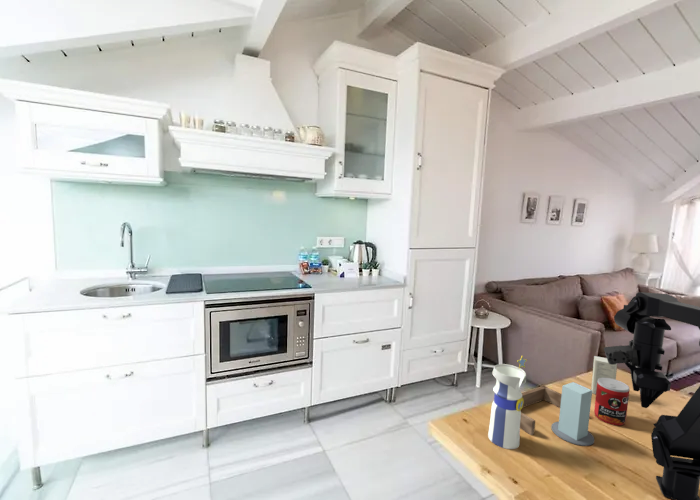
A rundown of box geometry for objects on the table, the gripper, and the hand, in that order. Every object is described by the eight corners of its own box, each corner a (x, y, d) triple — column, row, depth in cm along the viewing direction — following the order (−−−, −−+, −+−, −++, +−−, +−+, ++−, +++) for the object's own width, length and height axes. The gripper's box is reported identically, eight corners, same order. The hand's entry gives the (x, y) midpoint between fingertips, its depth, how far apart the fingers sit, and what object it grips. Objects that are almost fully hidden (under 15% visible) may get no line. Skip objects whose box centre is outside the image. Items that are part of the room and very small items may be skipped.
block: (587, 435, 94) (592, 390, 92) (576, 440, 91) (581, 394, 90) (568, 425, 98) (573, 381, 97) (558, 429, 96) (562, 385, 94)
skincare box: (612, 393, 118) (616, 359, 116) (614, 399, 114) (618, 364, 113) (590, 388, 121) (593, 355, 120) (591, 393, 117) (594, 359, 116)
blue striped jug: (527, 440, 91) (535, 350, 89) (513, 454, 86) (521, 358, 83) (496, 425, 97) (503, 340, 95) (481, 437, 92) (488, 348, 89)
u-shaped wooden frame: (578, 414, 104) (579, 402, 104) (531, 435, 94) (532, 421, 93) (542, 397, 114) (543, 385, 113) (496, 413, 103) (497, 401, 103)
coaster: (596, 450, 88) (596, 449, 88) (551, 437, 93) (551, 435, 93) (592, 430, 97) (592, 429, 97) (551, 418, 102) (551, 417, 102)
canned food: (596, 421, 101) (599, 386, 100) (591, 408, 108) (595, 375, 107) (628, 429, 97) (633, 393, 96) (622, 415, 104) (626, 381, 103)
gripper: (603, 324, 99) (597, 375, 101) (614, 346, 83) (606, 406, 85) (653, 332, 94) (646, 386, 96) (675, 357, 78) (666, 421, 80)
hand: (639, 398), depth 89 cm, fingers open, 9 cm apart
